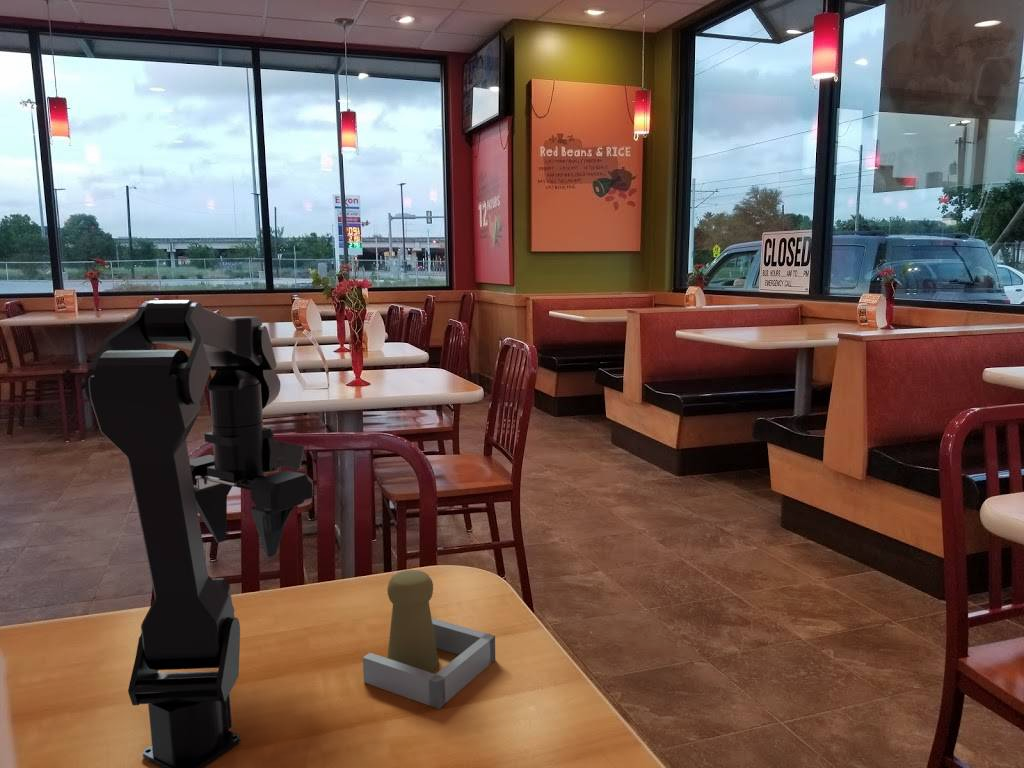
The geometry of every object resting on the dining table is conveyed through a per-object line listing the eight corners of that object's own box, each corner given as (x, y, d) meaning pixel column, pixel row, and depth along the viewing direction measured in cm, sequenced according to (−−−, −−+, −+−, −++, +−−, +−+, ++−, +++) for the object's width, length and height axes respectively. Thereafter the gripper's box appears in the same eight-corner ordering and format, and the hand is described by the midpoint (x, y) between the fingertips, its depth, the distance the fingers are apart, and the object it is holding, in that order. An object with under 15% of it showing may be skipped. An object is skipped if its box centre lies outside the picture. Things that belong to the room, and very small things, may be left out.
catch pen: (438, 708, 81) (438, 682, 80) (363, 682, 86) (362, 657, 85) (495, 659, 91) (495, 635, 90) (425, 638, 96) (424, 615, 95)
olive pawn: (442, 651, 93) (441, 564, 91) (433, 678, 87) (430, 586, 85) (393, 649, 93) (390, 563, 91) (380, 676, 87) (377, 584, 85)
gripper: (344, 419, 93) (349, 542, 95) (241, 404, 103) (249, 516, 105) (270, 437, 84) (278, 573, 86) (165, 419, 93) (175, 542, 96)
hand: (245, 548), depth 94 cm, fingers open, 9 cm apart
